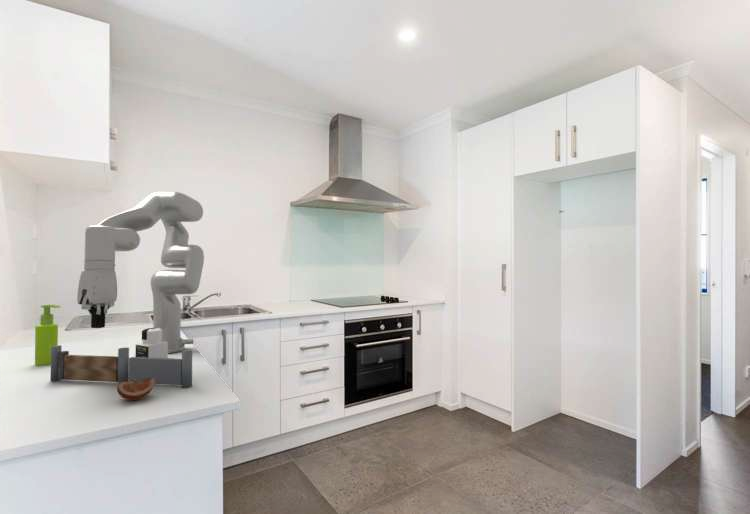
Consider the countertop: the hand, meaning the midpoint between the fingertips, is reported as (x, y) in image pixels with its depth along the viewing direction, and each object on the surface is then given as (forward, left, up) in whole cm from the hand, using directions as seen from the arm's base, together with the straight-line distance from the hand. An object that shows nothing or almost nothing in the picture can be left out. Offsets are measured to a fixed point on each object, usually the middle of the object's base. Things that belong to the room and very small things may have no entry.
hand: (97, 327), depth 116 cm
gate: (+2, +4, -15) cm, 15 cm away
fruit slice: (-10, +28, -15) cm, 33 cm away
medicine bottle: (-15, -10, -15) cm, 24 cm away
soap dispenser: (+15, -29, -15) cm, 36 cm away
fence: (-6, +10, -15) cm, 19 cm away
